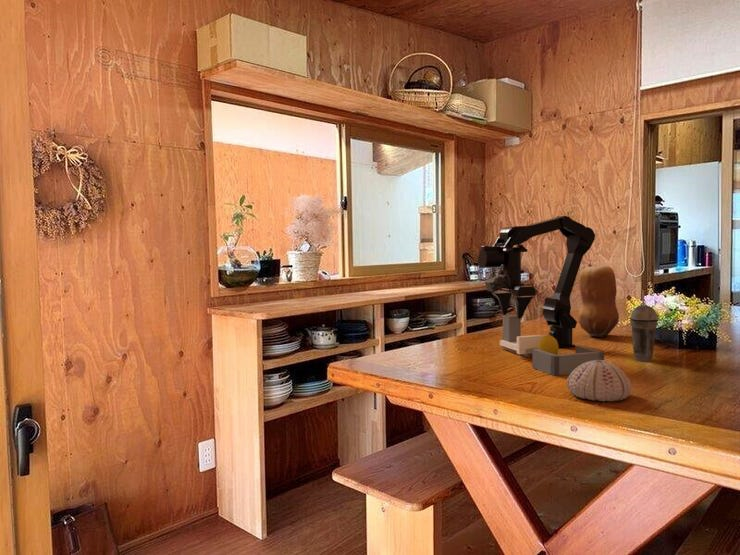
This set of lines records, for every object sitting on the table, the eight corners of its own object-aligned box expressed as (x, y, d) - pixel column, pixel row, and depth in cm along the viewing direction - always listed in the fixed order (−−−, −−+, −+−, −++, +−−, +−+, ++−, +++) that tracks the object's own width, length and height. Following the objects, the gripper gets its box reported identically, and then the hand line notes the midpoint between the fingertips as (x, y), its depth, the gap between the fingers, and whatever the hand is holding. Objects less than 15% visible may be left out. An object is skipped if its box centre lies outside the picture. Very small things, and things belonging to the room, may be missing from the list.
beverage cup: (660, 359, 163) (662, 289, 162) (652, 363, 158) (654, 291, 157) (634, 356, 168) (635, 288, 167) (625, 360, 163) (626, 290, 162)
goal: (579, 363, 160) (580, 345, 159) (604, 371, 150) (604, 352, 150) (532, 367, 155) (532, 349, 155) (554, 375, 146) (554, 356, 145)
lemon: (556, 360, 164) (556, 332, 163) (560, 364, 158) (560, 336, 158) (536, 360, 164) (536, 332, 164) (540, 364, 159) (540, 336, 158)
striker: (522, 343, 184) (522, 313, 183) (549, 352, 169) (549, 320, 169) (494, 345, 181) (494, 315, 180) (519, 354, 167) (519, 321, 166)
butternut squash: (577, 332, 210) (578, 264, 208) (617, 334, 205) (618, 264, 204) (578, 339, 197) (578, 266, 195) (620, 340, 192) (621, 266, 191)
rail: (512, 347, 184) (512, 344, 184) (540, 357, 169) (540, 353, 168) (501, 348, 183) (501, 345, 183) (528, 358, 167) (528, 354, 167)
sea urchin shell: (633, 407, 118) (633, 369, 118) (564, 401, 124) (564, 364, 123) (631, 391, 131) (631, 356, 130) (568, 386, 136) (568, 353, 135)
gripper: (474, 266, 185) (475, 314, 186) (503, 269, 167) (503, 322, 169) (505, 265, 188) (505, 312, 190) (537, 267, 171) (537, 319, 172)
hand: (511, 316), depth 180 cm, fingers open, 9 cm apart
